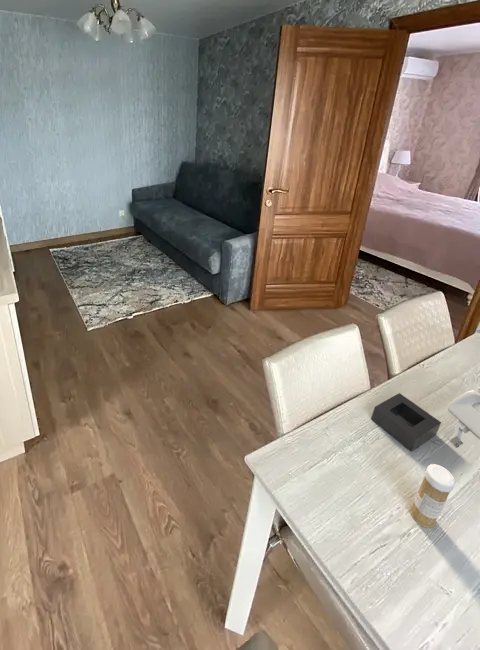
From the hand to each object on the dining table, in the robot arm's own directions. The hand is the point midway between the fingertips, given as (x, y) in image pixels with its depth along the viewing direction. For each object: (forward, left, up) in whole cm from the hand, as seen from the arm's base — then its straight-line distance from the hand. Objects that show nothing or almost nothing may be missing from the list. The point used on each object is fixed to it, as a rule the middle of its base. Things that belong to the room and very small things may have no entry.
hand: (473, 465), depth 69 cm
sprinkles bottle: (+6, +4, -14) cm, 16 cm away
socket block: (+6, -20, -14) cm, 25 cm away
